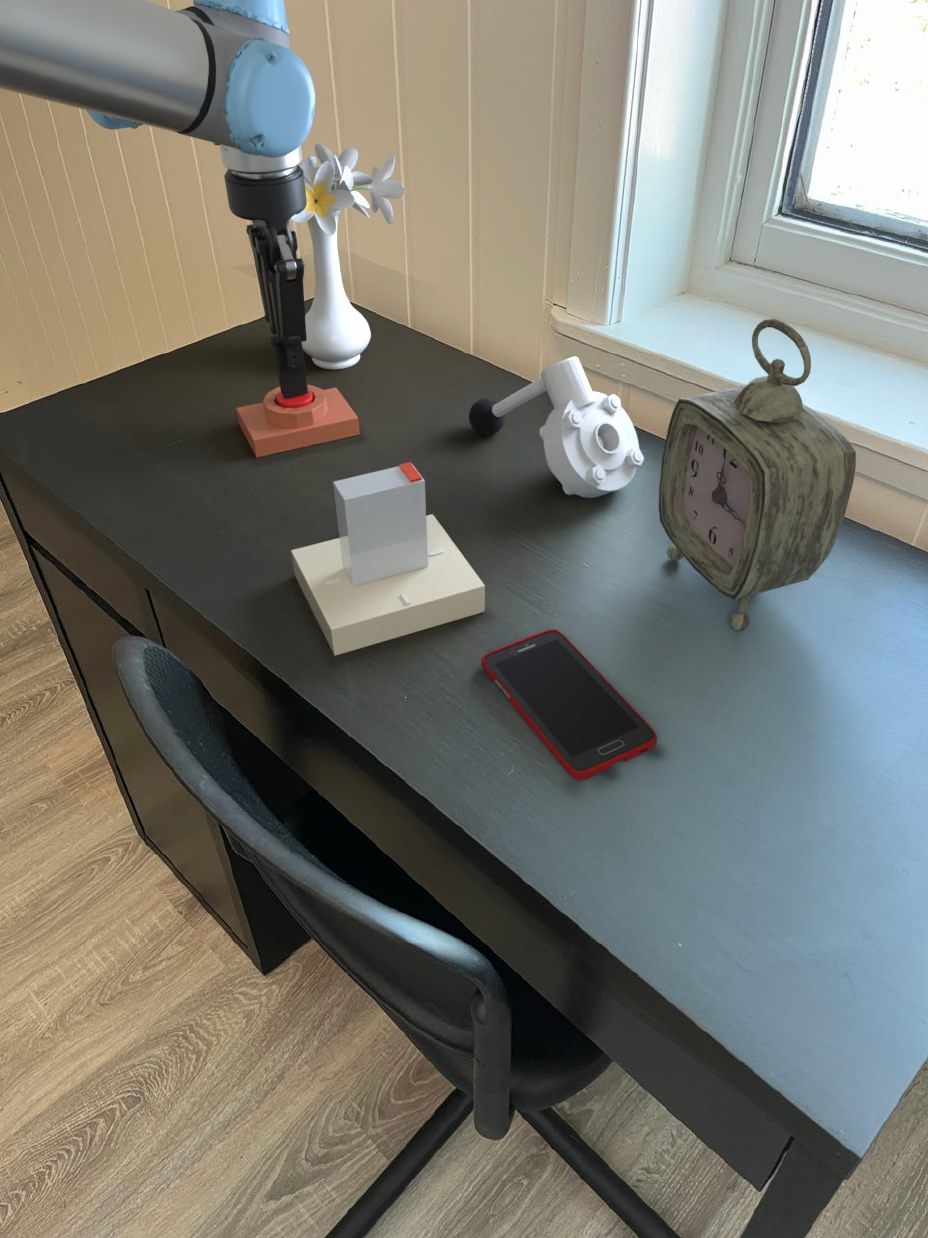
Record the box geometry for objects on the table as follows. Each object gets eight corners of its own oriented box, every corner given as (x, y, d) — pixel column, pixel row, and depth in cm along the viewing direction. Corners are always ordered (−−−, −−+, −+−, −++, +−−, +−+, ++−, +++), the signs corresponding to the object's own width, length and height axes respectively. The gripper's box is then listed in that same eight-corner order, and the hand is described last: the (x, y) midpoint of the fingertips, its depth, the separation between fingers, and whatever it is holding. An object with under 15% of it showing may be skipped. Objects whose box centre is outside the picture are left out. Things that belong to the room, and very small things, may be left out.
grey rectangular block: (353, 586, 82) (344, 497, 76) (342, 567, 84) (332, 479, 78) (428, 566, 84) (424, 477, 78) (415, 547, 86) (411, 460, 80)
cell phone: (576, 786, 69) (577, 777, 68) (477, 664, 79) (477, 656, 78) (661, 746, 72) (662, 738, 71) (555, 634, 81) (555, 625, 81)
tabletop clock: (647, 553, 90) (686, 297, 74) (729, 532, 93) (783, 280, 76) (732, 648, 80) (798, 376, 64) (821, 623, 83) (907, 354, 66)
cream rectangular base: (334, 656, 80) (330, 628, 78) (294, 575, 88) (290, 548, 86) (485, 611, 84) (485, 584, 82) (433, 539, 92) (432, 512, 90)
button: (283, 420, 105) (281, 406, 104) (274, 404, 108) (272, 390, 106) (318, 413, 106) (316, 399, 105) (308, 397, 109) (306, 383, 108)
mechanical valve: (594, 501, 92) (533, 356, 90) (489, 541, 106) (435, 417, 105) (660, 469, 97) (603, 333, 96) (551, 511, 112) (501, 393, 111)
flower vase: (424, 349, 124) (417, 143, 108) (313, 397, 114) (286, 178, 98) (360, 320, 131) (344, 122, 115) (250, 363, 121) (215, 153, 105)
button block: (256, 457, 104) (251, 425, 101) (239, 424, 109) (233, 393, 107) (359, 434, 108) (357, 403, 105) (338, 403, 113) (334, 372, 110)
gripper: (209, 154, 93) (247, 374, 109) (240, 192, 84) (277, 426, 100) (282, 145, 96) (310, 362, 111) (321, 181, 87) (345, 411, 102)
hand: (294, 392), depth 105 cm, fingers closed
